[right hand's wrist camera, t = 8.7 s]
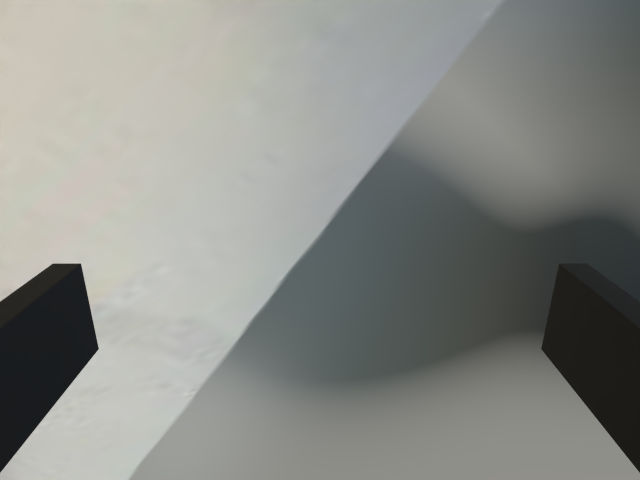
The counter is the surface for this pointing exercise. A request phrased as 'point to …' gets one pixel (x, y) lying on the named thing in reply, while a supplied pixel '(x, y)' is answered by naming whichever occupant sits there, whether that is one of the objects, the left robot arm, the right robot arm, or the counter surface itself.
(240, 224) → the counter surface
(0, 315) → the right robot arm
